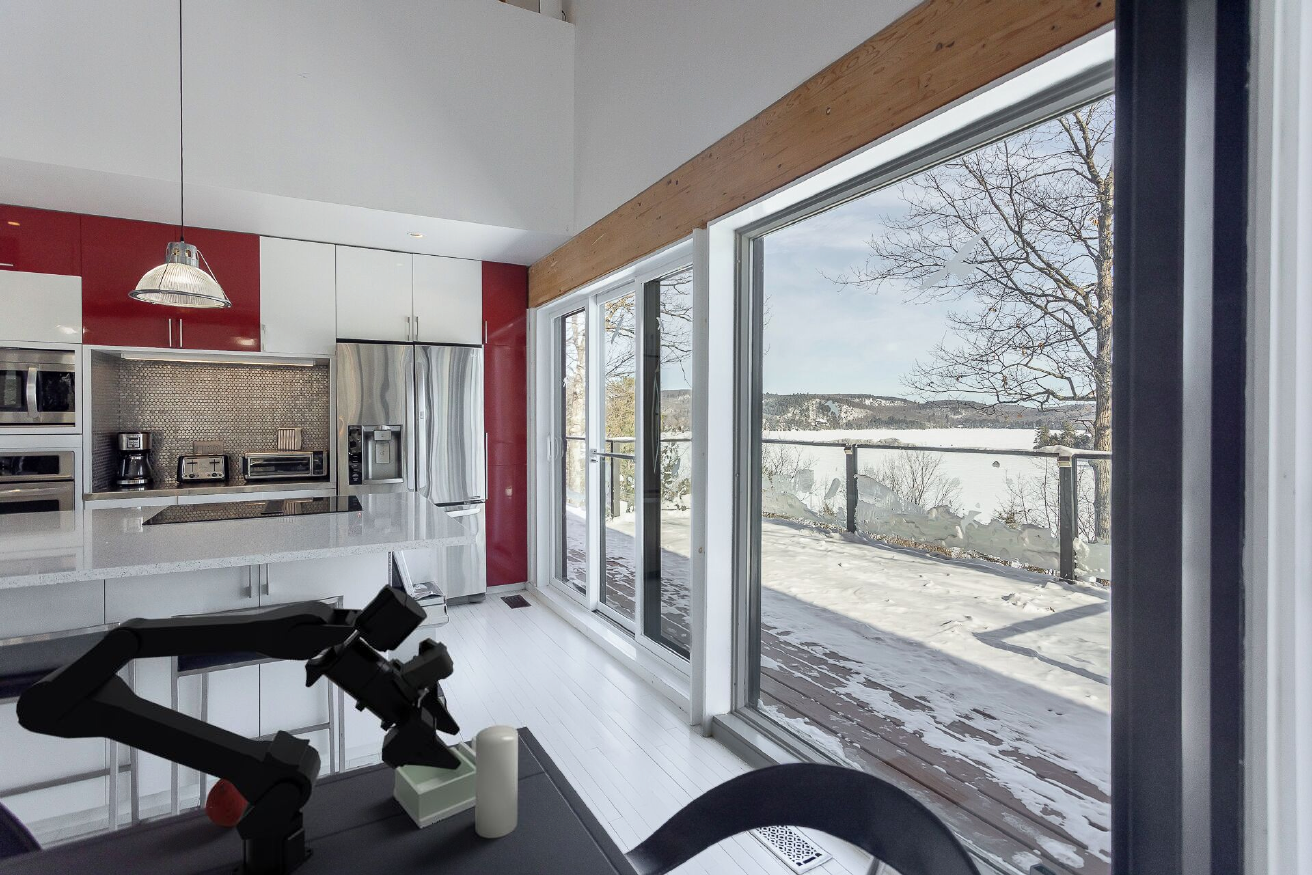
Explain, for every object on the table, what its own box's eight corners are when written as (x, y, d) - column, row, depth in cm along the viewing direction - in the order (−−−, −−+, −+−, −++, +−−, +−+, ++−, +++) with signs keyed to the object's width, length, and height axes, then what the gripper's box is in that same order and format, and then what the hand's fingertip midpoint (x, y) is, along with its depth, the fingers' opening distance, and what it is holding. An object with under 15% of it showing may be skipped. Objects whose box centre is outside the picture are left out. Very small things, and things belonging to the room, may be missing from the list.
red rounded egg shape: (231, 842, 83) (231, 782, 83) (194, 836, 84) (194, 776, 84) (267, 815, 89) (266, 759, 89) (232, 810, 90) (231, 754, 90)
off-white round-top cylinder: (466, 832, 86) (467, 741, 85) (490, 808, 91) (490, 722, 91) (503, 841, 84) (504, 748, 84) (524, 816, 89) (525, 728, 89)
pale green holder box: (420, 828, 86) (420, 792, 86) (393, 795, 94) (393, 762, 94) (506, 792, 95) (506, 759, 95) (475, 764, 103) (476, 734, 102)
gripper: (411, 654, 75) (507, 733, 78) (418, 608, 92) (496, 675, 96) (337, 729, 72) (440, 807, 76) (359, 668, 90) (442, 733, 94)
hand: (458, 748), depth 86 cm, fingers open, 9 cm apart
